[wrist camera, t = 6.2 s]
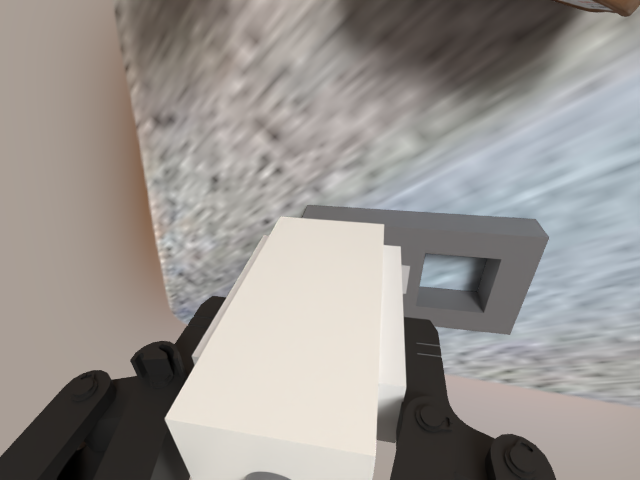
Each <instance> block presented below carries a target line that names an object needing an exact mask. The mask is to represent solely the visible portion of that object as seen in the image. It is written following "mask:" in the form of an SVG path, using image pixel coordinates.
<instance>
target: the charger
mask: <svg viewBox="0 0 640 480" xmlns="http://www.w3.org/2000/svg"><path fill="white" fill-rule="evenodd" d="M383 245H384V224H373V223H360V222H346V221H333V220H319V219H306V218H292V217H280V218H279V220H278V221H277V223H276V225H275V227H274V228H273V230H272V232H271V234H270V235H269V237H268V239H267V241H266V242H265V244H264V246H263V248H262V249H261V251H260V253H259V255H258V256H257V258H256V260H255V262H254V263H253V265H252V267H251V269H250V270H249V272H248V274H247V276H246V277H245V279H244V281H243V283H242V284H241V286H240V288H239V290H238V291H237V293H236V295H235V296H234V298H233V300H232V302H231V303H230V305H229V307H228V309H227V310H226V312H225V314H224V316H223V317H222V319H221V321H220V323H219V324H218V326H217V328H216V330H215V331H214V333H213V335H212V337H211V338H210V340H209V342H208V344H207V345H206V347H205V349H204V351H203V352H202V354H201V356H200V358H199V359H198V361H197V363H196V365H195V366H194V368H193V370H192V372H191V373H190V375H189V377H188V379H187V380H186V382H185V384H184V386H183V387H182V389H181V391H180V393H179V394H178V396H177V398H176V399H175V401H174V403H173V405H172V406H171V408H170V410H169V412H168V413H167V415H166V417H165V421H166V423H167V426H168V428H169V430H170V432H171V434H172V436H173V439H174V441H175V443H176V445H177V447H178V450H179V452H180V454H181V456H182V458H183V461H184V463H185V465H186V467H187V469H188V472H189V474H190V476H191V478H192V480H372V478H373V471H374V464H375V458H376V435H377V408H378V380H379V353H380V326H381V299H382V272H383Z"/></svg>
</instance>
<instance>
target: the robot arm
mask: <svg viewBox="0 0 640 480" xmlns="http://www.w3.org/2000/svg"><path fill="white" fill-rule="evenodd" d="M268 237H269V236H268V235H263V237H262V239H261V241H260V242H259V244H258V246H257V247H256V249H255V251H254V252H253V254H252V256H251V257H250V259H249V261H248V262H247V264H246V266H245V267H244V269H243V271H242V272H241V274H240V276H239V277H238V279H237V281H236V283H235V284H234V286H233V288H232V289H231V291H230V293H229V294H228V296H227V298H226V297H218V296H212V297H210V298H209V299H208V300H207V301H205V302H204V303H203V304H201V306H200V307H199V309H198V310H197V312H196V313H195V315H194V317H193V318H192V319H191V321H190V322H189V324H188V326H187V327H186V328H185V330H184V331H183V333H182V334H181V336H180V337H179V339H178V340H177V342H176V343H175V344H173V343H171V342H167V341H159V342H153V343H151V344H149V345H146V346H144V347H143V348H141V349H140V350H139V351H138V352H136V353H135V354H134V356H133V357H132V359H131V363H132V365H133V367H134V370H135V372H136V374H137V376H134V377H127V378H121V379H114V380H111V378H110V377H109V375H108V373H106V372H104V371H102V370H93V371H90V372H86V373H83V374H81V375H79V376H78V377H76V378H74V379H73V380H71V381H70V382H69V383H68V384H67V385H66V386H65V387H64V388H63V389H62V390H61V391H60V392H59V393H58V394H57V395H56V397H55V398H54V399H53V400H52V401H51V402H50V403H49V404H48V405H47V406H46V407H45V409H44V410H43V411H42V412H41V413H40V414H39V415H38V416H37V417H36V418H35V420H34V421H33V422H32V423H31V424H30V425H29V426H28V427H27V428H26V429H25V430H24V432H23V433H22V434H21V435H20V436H19V437H18V438H17V439H16V441H14V443H13V444H12V445H11V446H10V447H9V448H8V449H7V450H6V451H5V452H4V453H3V455H2V456H1V457H0V480H189V478H190V474H189V472H188V469H187V467H186V465H185V463H184V461H183V458H182V456H181V454H180V452H179V450H178V447H177V445H176V443H175V441H174V439H173V436H172V434H171V432H170V430H169V428H168V426H167V423H166V421H165V417H166V415H167V413H168V412H169V410H170V408H171V406H172V405H173V403H174V401H175V399H176V398H177V396H178V394H179V393H180V391H181V389H182V387H183V386H184V384H185V382H186V380H187V379H188V377H189V375H190V373H191V372H192V370H193V368H194V366H195V365H196V363H197V361H198V359H199V358H200V356H201V354H202V352H203V351H204V349H205V347H206V345H207V344H208V342H209V340H210V338H211V337H212V335H213V333H214V331H215V330H216V328H217V326H218V324H219V323H220V321H221V319H222V317H223V316H224V314H225V312H226V310H227V309H228V307H229V305H230V303H231V302H232V300H233V298H234V296H235V295H236V293H237V291H238V290H239V288H240V286H241V284H242V283H243V281H244V279H245V277H246V276H247V274H248V272H249V270H250V269H251V267H252V265H253V263H254V262H255V260H256V258H257V256H258V255H259V253H260V251H261V249H262V248H263V246H264V244H265V242H266V241H267V239H268ZM376 440H381V441H386V442H392V443H395V442H396V455H395V460H394V464H393V468H392V473H391V477H390V480H556V478H555V475H554V472H553V470H552V467H551V465H550V464H549V462H548V460H547V458H546V456H545V455H544V454H543V453H542V452H541V451H540V450H539V449H538V448H537V446H536V445H534V444H533V443H531V442H530V441H528V440H526V439H525V438H523V437H520V436H516V435H513V434H505V435H501V436H499V437H497V438H496V439H494V438H492V437H490V436H488V435H486V434H484V433H481V432H479V431H477V430H475V429H473V428H471V427H470V426H468V425H466V424H465V423H464V422H463V421H462V420H460V419H459V418H458V417H457V415H456V414H455V413H454V412H453V410H452V408H451V406H450V404H449V401H448V396H447V390H446V383H445V376H444V370H443V363H442V358H441V349H440V343H439V336H438V331H437V330H436V328H435V327H434V325H433V324H432V322H431V321H430V320H428V319H419V318H410V317H403V292H402V267H401V246H389V245H383V272H382V299H381V326H380V353H379V380H378V408H377V435H376Z"/></svg>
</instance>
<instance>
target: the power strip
mask: <svg viewBox="0 0 640 480" xmlns="http://www.w3.org/2000/svg"><path fill="white" fill-rule="evenodd" d="M302 218H306V219H319V220H333V221H346V222H360V223H373V224H384V245H389V246H401V267H402V292H403V317H410V318H419V319H428V320H430V321H431V322H432V324H433V325H434V326H436V327H445V328H454V329H463V330H472V331H481V332H490V333H499V334H508V335H510V333H511V331H512V328H513V326H514V323H515V321H516V318H517V316H518V313H519V311H520V309H521V306H522V304H523V301H524V299H525V296H526V294H527V291H528V289H529V286H530V284H531V281H532V279H533V276H534V274H535V272H536V269H537V267H538V264H539V262H540V259H541V257H542V254H543V252H544V249H545V247H546V244H547V242H548V239H549V237H548V235H547V234H546V233H545V231H544V230H543V228H542V227H541V226H540V224H539V223H538V222H537V220H536V219H524V218H508V217H492V216H476V215H460V214H444V213H428V212H412V211H396V210H380V209H364V208H348V207H332V206H316V205H307V208H306V210H305V212H304V214H303V217H302ZM425 253H430V254H442V255H454V256H467V257H479V258H487V261H486V264H485V268H484V271H483V274H482V278H481V281H480V284H479V288H478V291H477V292H471V291H461V290H450V289H440V288H429V287H419V285H420V280H421V274H422V269H423V263H424V257H425Z"/></svg>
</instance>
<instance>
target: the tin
mask: <svg viewBox="0 0 640 480" xmlns="http://www.w3.org/2000/svg"><path fill="white" fill-rule="evenodd" d="M552 1H555V2H558V3H561V4H564V5H567V6H571V7H574V8H577V9H581V10H585V11H589V12H612V13H618V14H619V15H621V16H624V17H627V16H630V15H631V14H632V13H633V12H634V11H635V10H636V9H637V8H638V7H639V5H640V0H552Z"/></svg>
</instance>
